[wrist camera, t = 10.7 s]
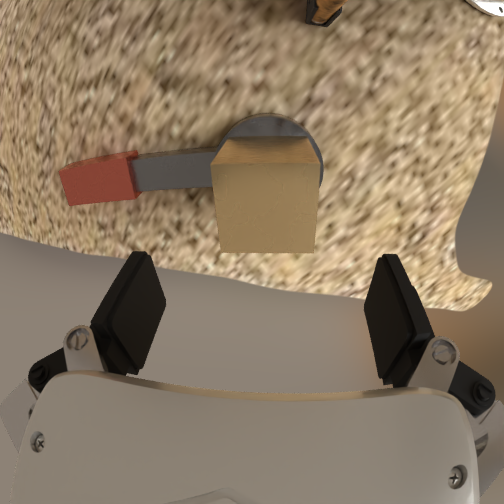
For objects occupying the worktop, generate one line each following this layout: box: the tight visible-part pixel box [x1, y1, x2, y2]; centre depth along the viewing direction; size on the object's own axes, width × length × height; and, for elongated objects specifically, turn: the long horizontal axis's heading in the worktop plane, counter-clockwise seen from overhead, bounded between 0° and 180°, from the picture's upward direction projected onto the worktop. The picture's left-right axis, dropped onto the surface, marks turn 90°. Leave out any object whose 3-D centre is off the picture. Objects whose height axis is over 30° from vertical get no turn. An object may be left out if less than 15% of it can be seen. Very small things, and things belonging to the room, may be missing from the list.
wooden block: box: [210, 136, 320, 253], centre depth 19 cm, size 6×6×7 cm
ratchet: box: [59, 113, 323, 206], centre depth 22 cm, size 26×9×6 cm, turn 93°
